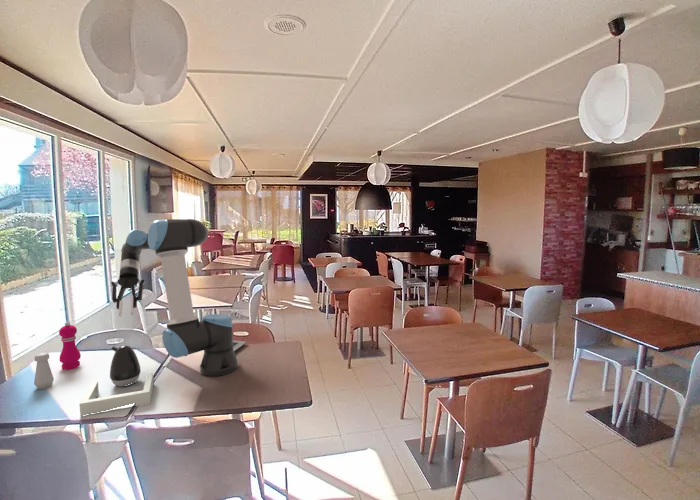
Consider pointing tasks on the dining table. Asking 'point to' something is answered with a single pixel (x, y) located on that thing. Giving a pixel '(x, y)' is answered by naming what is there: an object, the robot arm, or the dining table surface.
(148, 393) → the bay
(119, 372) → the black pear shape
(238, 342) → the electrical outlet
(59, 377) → the dining table surface
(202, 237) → the robot arm
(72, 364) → the pepper mill
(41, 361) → the salt shaker
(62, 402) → the dining table surface
